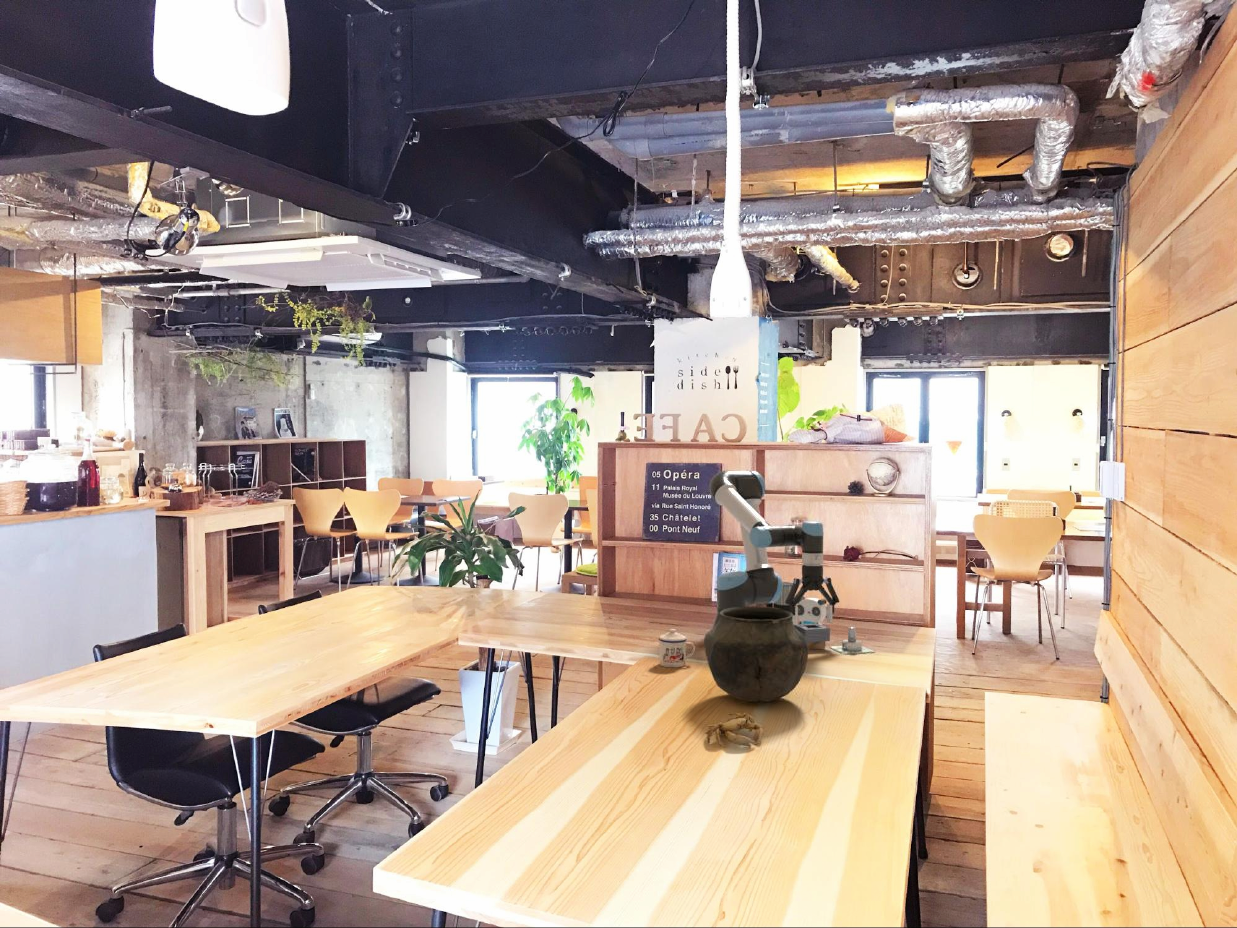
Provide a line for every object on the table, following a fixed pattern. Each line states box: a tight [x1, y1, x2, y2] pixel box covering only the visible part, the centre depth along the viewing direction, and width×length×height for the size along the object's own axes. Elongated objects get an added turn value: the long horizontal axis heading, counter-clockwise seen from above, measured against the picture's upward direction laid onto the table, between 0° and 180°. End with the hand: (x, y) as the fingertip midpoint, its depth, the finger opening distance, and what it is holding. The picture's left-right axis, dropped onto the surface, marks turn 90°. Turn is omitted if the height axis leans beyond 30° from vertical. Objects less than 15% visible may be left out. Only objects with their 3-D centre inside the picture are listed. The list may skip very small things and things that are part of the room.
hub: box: [828, 626, 876, 655], centre depth 320 cm, size 12×11×8 cm
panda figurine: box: [796, 595, 828, 625], centre depth 342 cm, size 12×11×15 cm
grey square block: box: [793, 623, 831, 642], centre depth 324 cm, size 10×10×4 cm
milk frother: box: [765, 581, 793, 620], centre depth 379 cm, size 14×16×15 cm
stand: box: [807, 641, 826, 651], centre depth 324 cm, size 7×7×6 cm
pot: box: [703, 605, 809, 703], centre depth 255 cm, size 29×32×25 cm
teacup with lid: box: [658, 628, 696, 669], centre depth 296 cm, size 12×9×12 cm
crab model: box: [704, 712, 763, 749], centre depth 219 cm, size 16×13×6 cm
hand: (812, 623), depth 324 cm, fingers open, 13 cm apart
